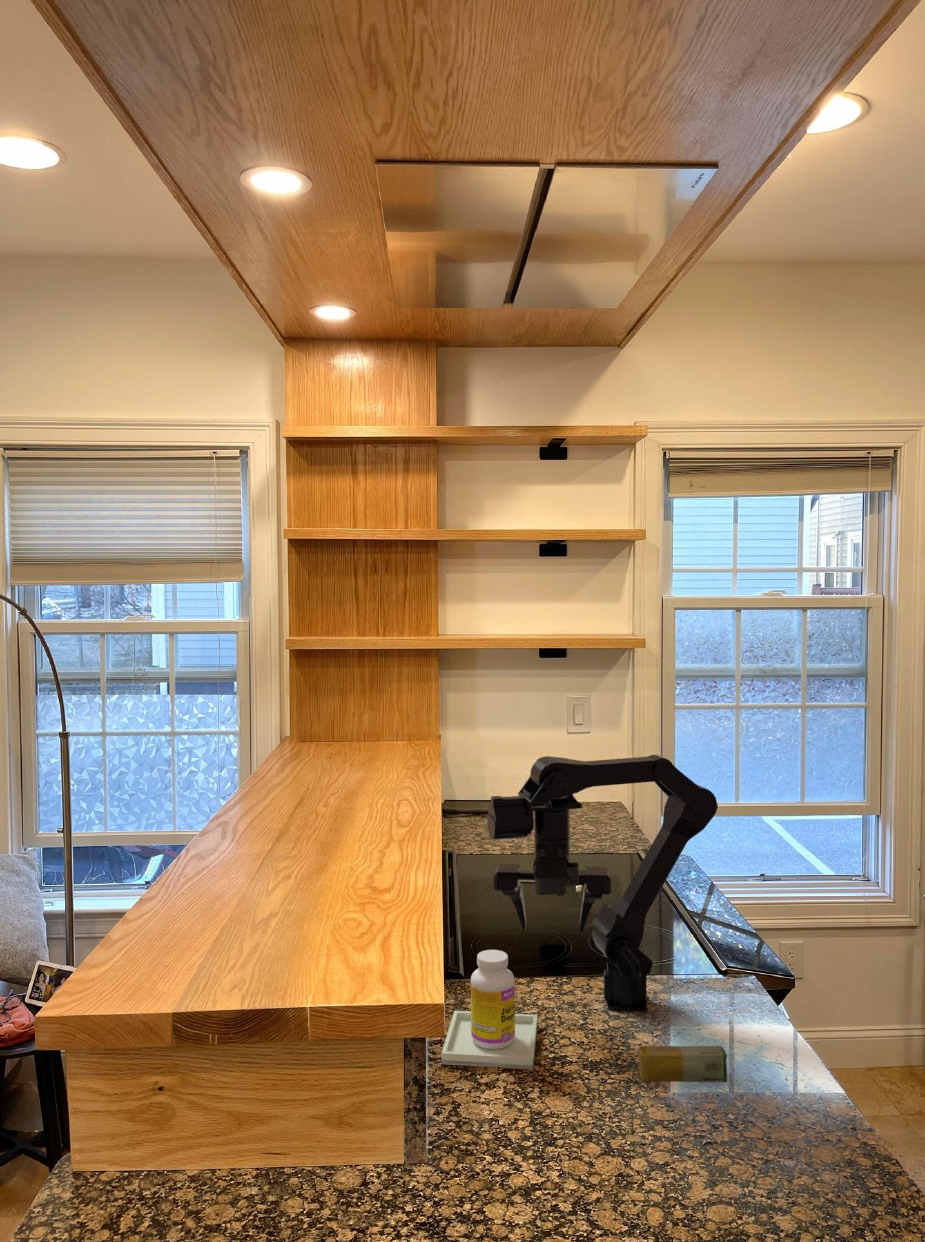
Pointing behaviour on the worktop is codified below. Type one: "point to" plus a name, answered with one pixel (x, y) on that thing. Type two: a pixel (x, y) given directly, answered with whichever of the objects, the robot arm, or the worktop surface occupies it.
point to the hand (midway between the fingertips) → (552, 930)
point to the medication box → (683, 1063)
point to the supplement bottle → (492, 1001)
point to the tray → (469, 1054)
